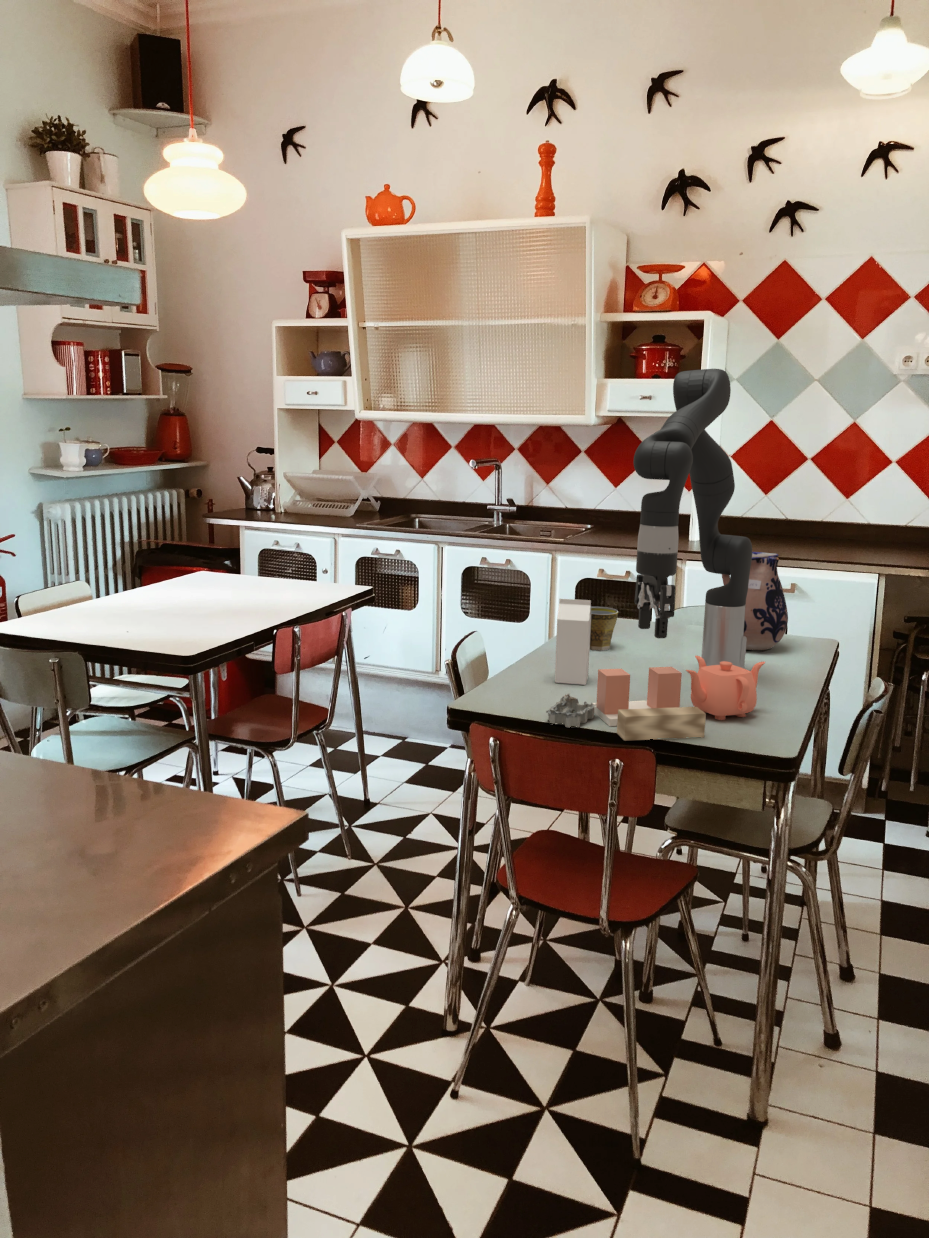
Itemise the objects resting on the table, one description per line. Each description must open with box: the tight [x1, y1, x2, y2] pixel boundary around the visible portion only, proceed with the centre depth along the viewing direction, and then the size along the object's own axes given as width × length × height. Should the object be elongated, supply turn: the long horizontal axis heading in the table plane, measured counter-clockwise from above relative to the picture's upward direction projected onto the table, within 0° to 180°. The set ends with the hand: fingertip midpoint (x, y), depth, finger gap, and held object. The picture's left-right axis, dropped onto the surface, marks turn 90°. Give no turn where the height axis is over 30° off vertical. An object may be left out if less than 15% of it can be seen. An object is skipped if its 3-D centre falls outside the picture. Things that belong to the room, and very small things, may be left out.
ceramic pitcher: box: [721, 551, 789, 651], centre depth 261 cm, size 18×21×25 cm
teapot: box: [685, 655, 766, 721], centre depth 203 cm, size 14×14×11 cm
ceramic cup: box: [590, 606, 619, 652], centre depth 259 cm, size 13×10×10 cm
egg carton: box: [545, 693, 597, 728], centre depth 198 cm, size 11×8×4 cm
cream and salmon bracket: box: [592, 666, 683, 727], centre depth 200 cm, size 16×11×10 cm
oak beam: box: [616, 706, 707, 742], centre depth 189 cm, size 16×4×5 cm, turn 100°
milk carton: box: [554, 598, 592, 686], centre depth 225 cm, size 7×7×19 cm
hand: (652, 633), depth 188 cm, fingers open, 8 cm apart
